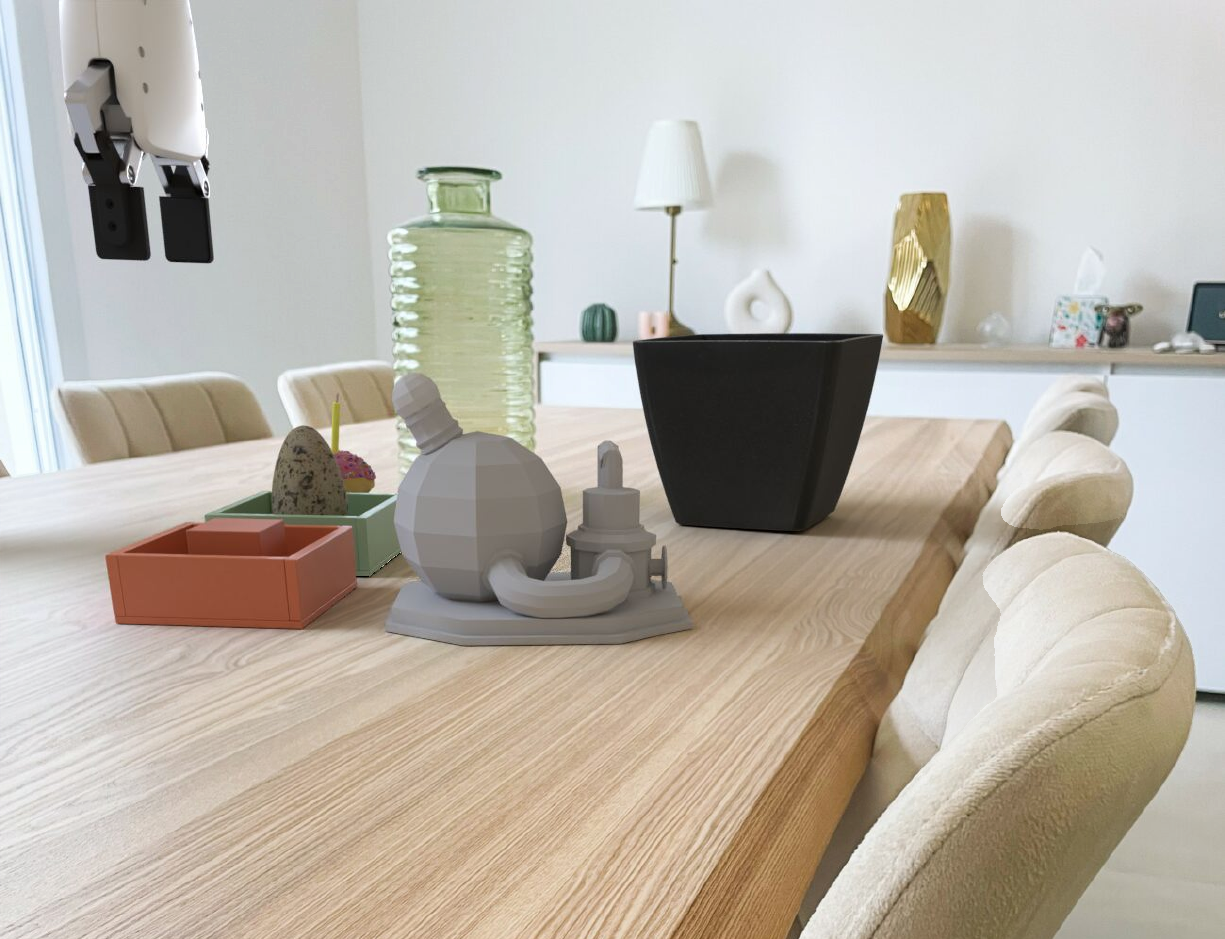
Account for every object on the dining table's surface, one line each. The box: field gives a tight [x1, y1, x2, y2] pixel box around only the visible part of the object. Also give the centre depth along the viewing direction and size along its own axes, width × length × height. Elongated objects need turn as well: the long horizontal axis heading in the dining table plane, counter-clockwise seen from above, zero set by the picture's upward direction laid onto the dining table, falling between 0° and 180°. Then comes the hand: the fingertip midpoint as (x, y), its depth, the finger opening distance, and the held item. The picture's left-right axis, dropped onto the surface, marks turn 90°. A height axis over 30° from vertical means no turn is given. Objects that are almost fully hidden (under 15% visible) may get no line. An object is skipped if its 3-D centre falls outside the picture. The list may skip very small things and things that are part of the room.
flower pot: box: [632, 332, 884, 532], centre depth 116 cm, size 19×19×17 cm
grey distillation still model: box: [384, 372, 693, 646], centre depth 80 cm, size 20×15×15 cm
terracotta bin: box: [104, 521, 358, 630], centre depth 85 cm, size 13×13×4 cm
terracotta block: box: [186, 518, 288, 558], centre depth 84 cm, size 5×5×5 cm
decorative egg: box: [271, 424, 348, 516], centre depth 98 cm, size 6×6×10 cm
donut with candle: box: [330, 392, 377, 493], centre depth 111 cm, size 9×8×12 cm
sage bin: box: [203, 490, 401, 577], centre depth 99 cm, size 13×13×4 cm
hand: (159, 261), depth 79 cm, fingers open, 9 cm apart
